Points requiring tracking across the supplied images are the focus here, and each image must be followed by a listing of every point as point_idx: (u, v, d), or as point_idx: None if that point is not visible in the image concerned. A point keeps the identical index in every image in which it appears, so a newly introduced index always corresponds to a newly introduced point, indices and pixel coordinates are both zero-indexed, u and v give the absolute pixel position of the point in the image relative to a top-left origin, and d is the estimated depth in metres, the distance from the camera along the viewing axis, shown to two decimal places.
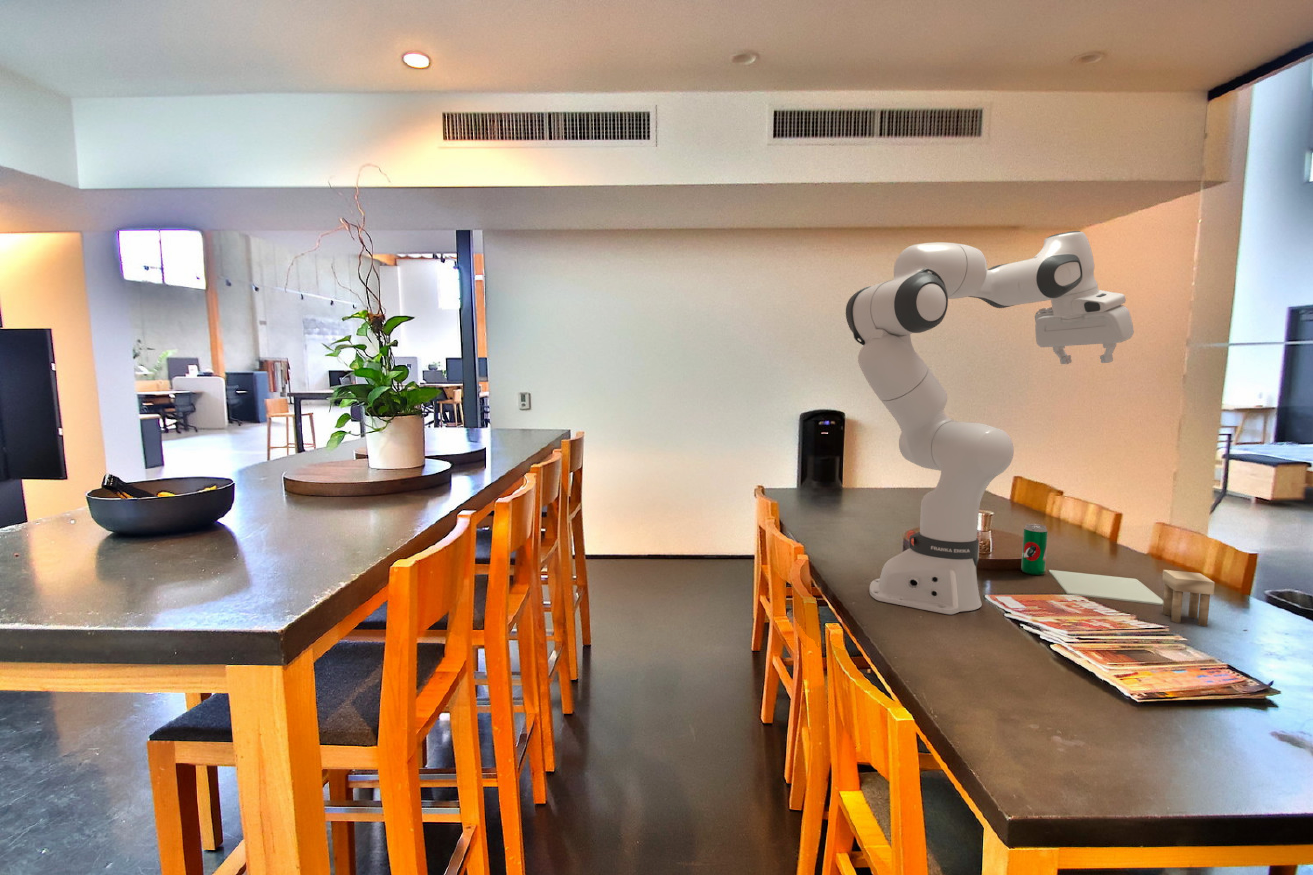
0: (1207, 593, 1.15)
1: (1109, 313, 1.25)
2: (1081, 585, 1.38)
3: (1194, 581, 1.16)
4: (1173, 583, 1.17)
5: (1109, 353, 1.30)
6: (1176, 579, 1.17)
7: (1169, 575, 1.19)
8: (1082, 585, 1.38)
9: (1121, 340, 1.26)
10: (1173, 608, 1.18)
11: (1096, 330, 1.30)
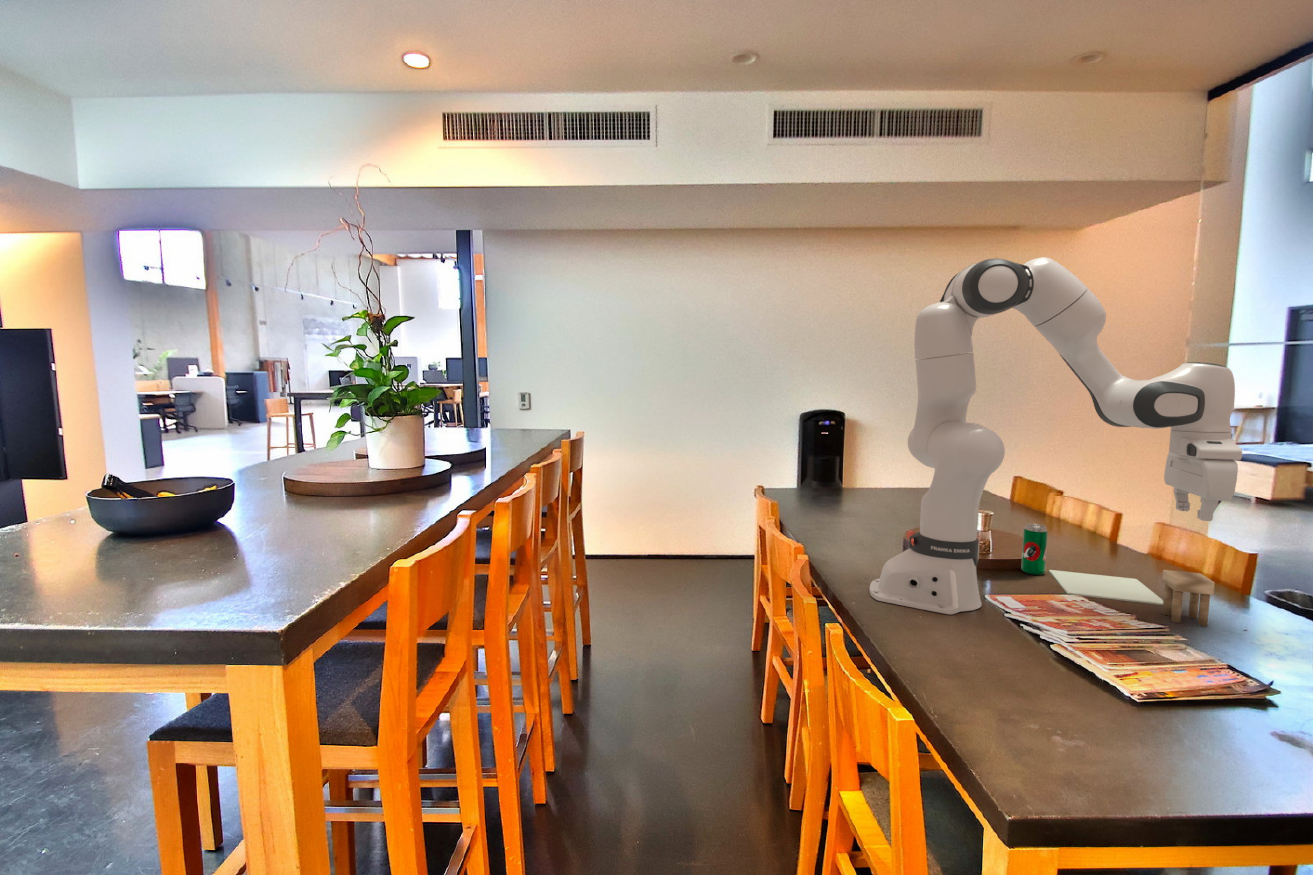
0: (1207, 593, 1.15)
1: (1203, 463, 1.09)
2: (1081, 585, 1.38)
3: (1194, 581, 1.16)
4: (1173, 583, 1.17)
5: (1206, 510, 1.12)
6: (1176, 579, 1.17)
7: (1169, 575, 1.19)
8: (1082, 585, 1.38)
9: (1208, 497, 1.09)
10: (1173, 608, 1.18)
11: (1196, 478, 1.13)
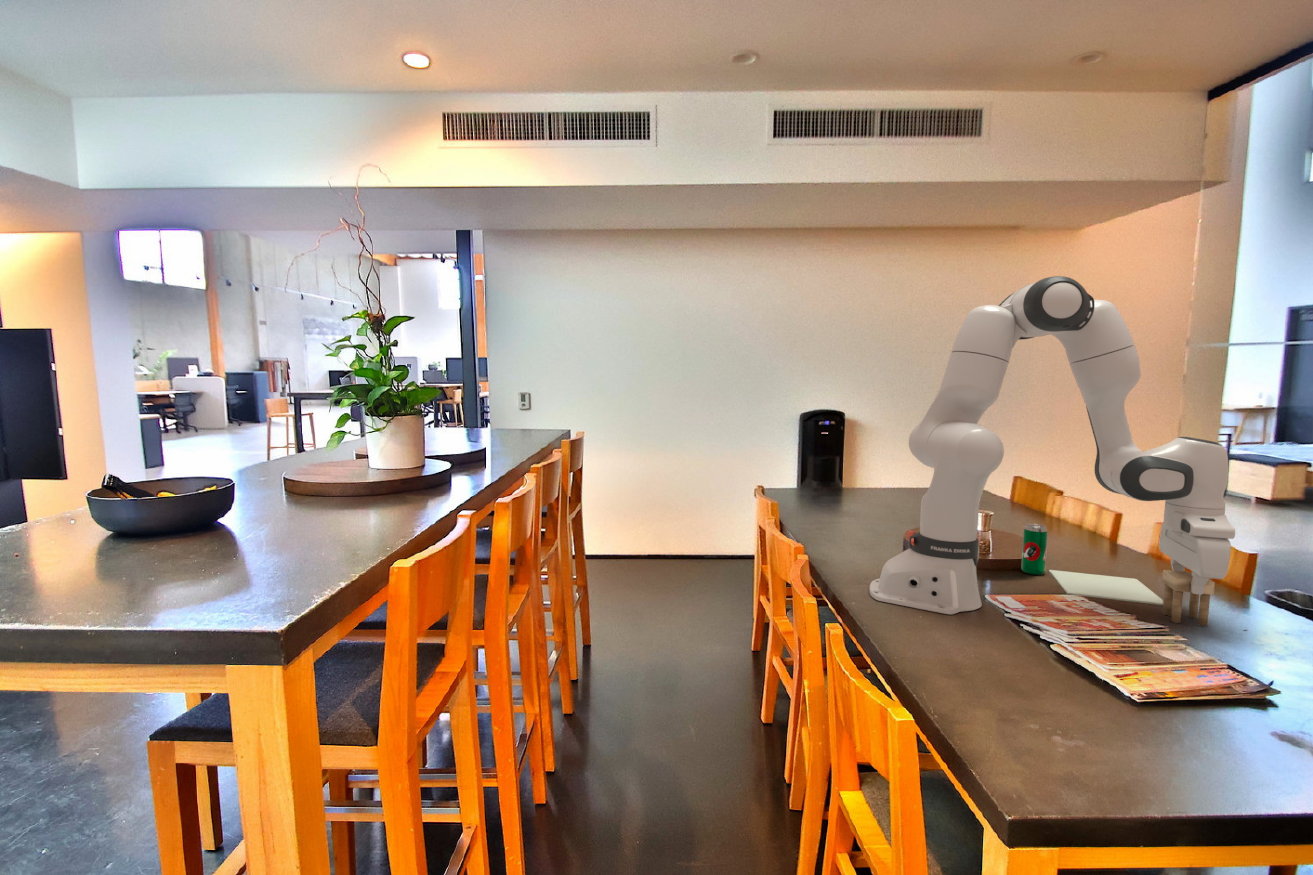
0: (1207, 593, 1.15)
1: (1196, 540, 1.11)
2: (1081, 585, 1.38)
3: None
4: (1174, 583, 1.17)
5: (1197, 584, 1.14)
6: (1176, 579, 1.17)
7: (1169, 575, 1.19)
8: (1082, 585, 1.38)
9: (1202, 575, 1.10)
10: (1173, 608, 1.18)
11: (1190, 553, 1.14)
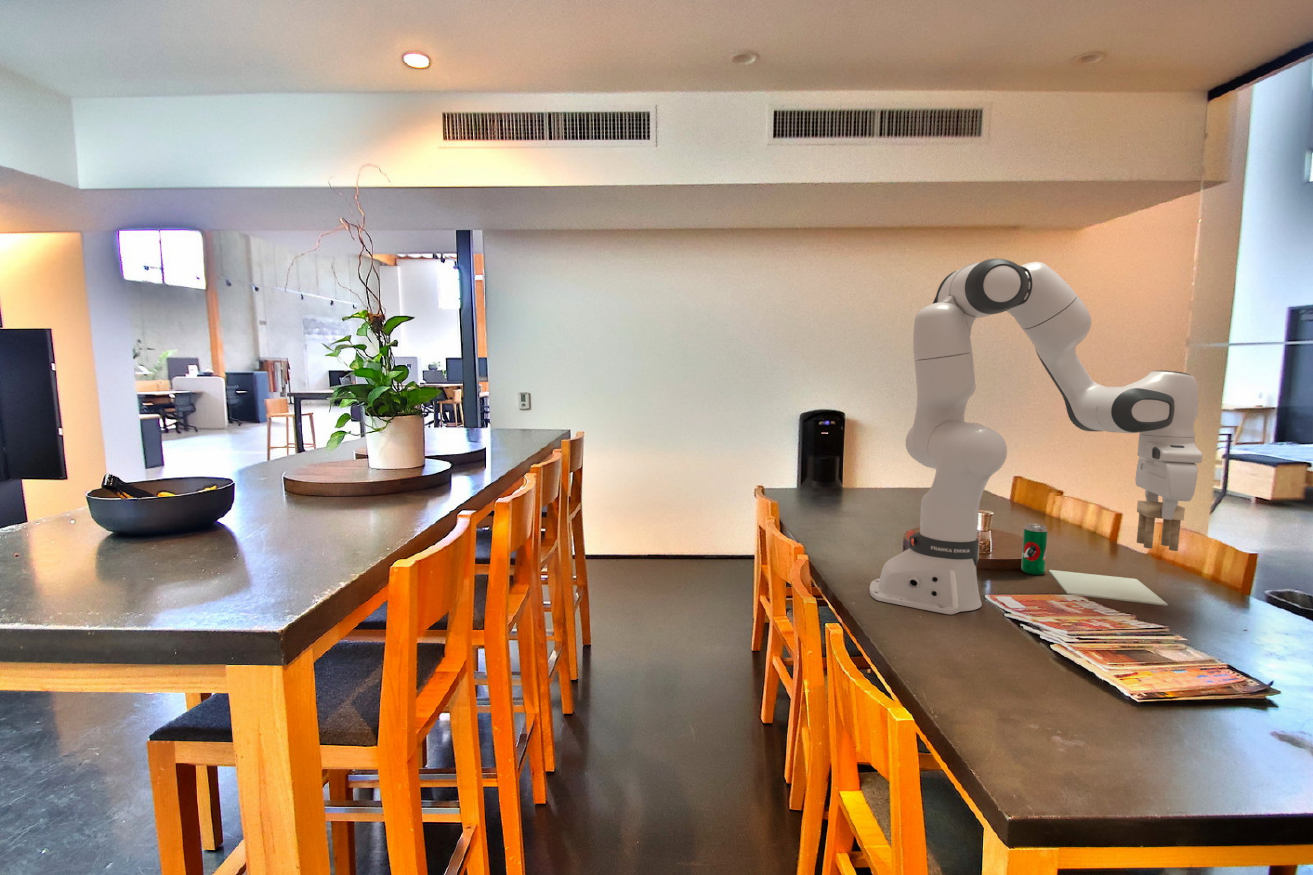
0: (1177, 519, 1.21)
1: (1165, 465, 1.16)
2: (1081, 585, 1.38)
3: None
4: (1146, 510, 1.23)
5: (1167, 509, 1.20)
6: (1148, 506, 1.22)
7: (1142, 504, 1.25)
8: (1082, 585, 1.38)
9: (1170, 497, 1.16)
10: (1145, 534, 1.23)
11: (1160, 480, 1.20)
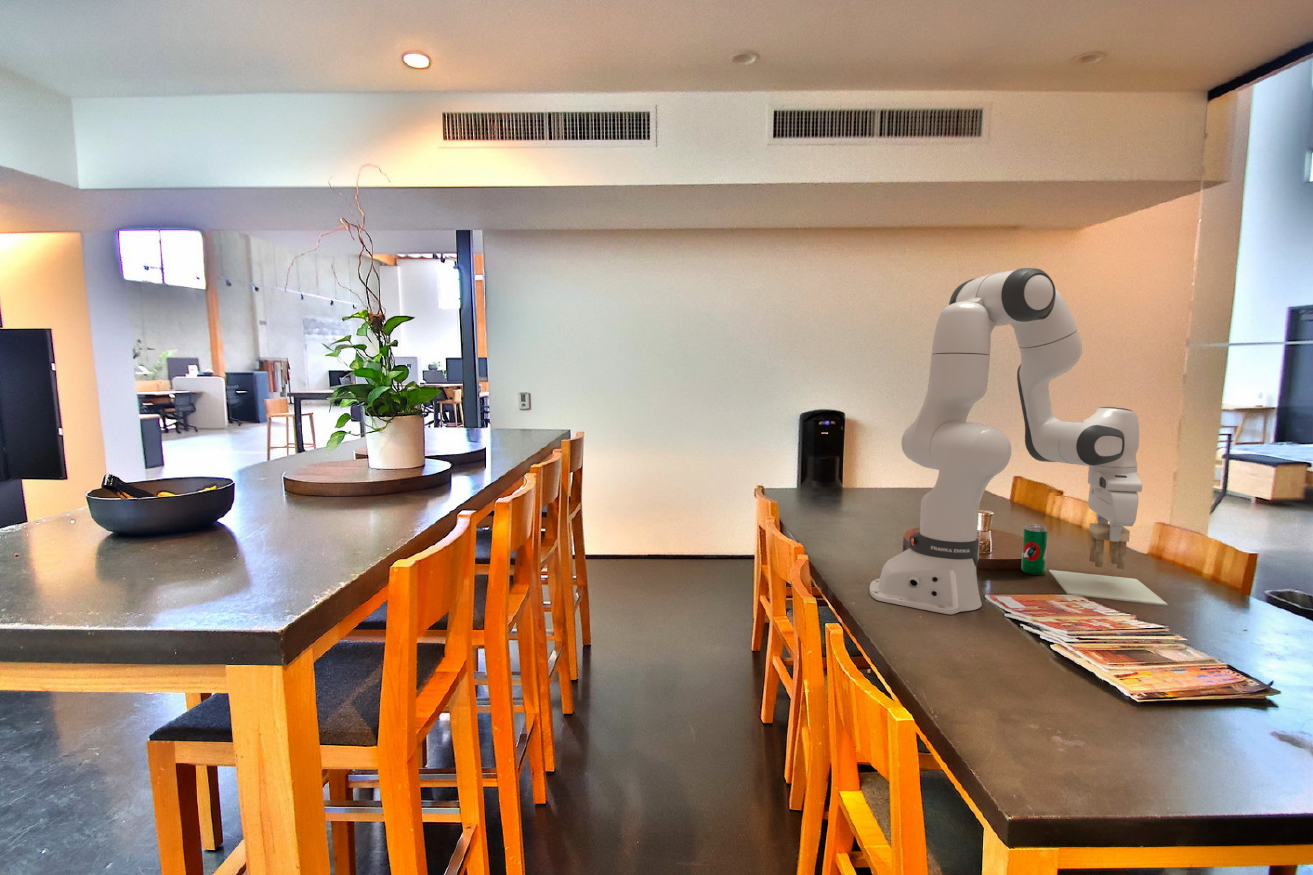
0: (1124, 540, 1.34)
1: (1110, 494, 1.29)
2: (1081, 585, 1.38)
3: None
4: (1096, 533, 1.36)
5: (1114, 532, 1.33)
6: (1098, 529, 1.35)
7: (1093, 527, 1.38)
8: (1082, 585, 1.38)
9: (1115, 523, 1.29)
10: (1096, 555, 1.36)
11: (1107, 506, 1.33)
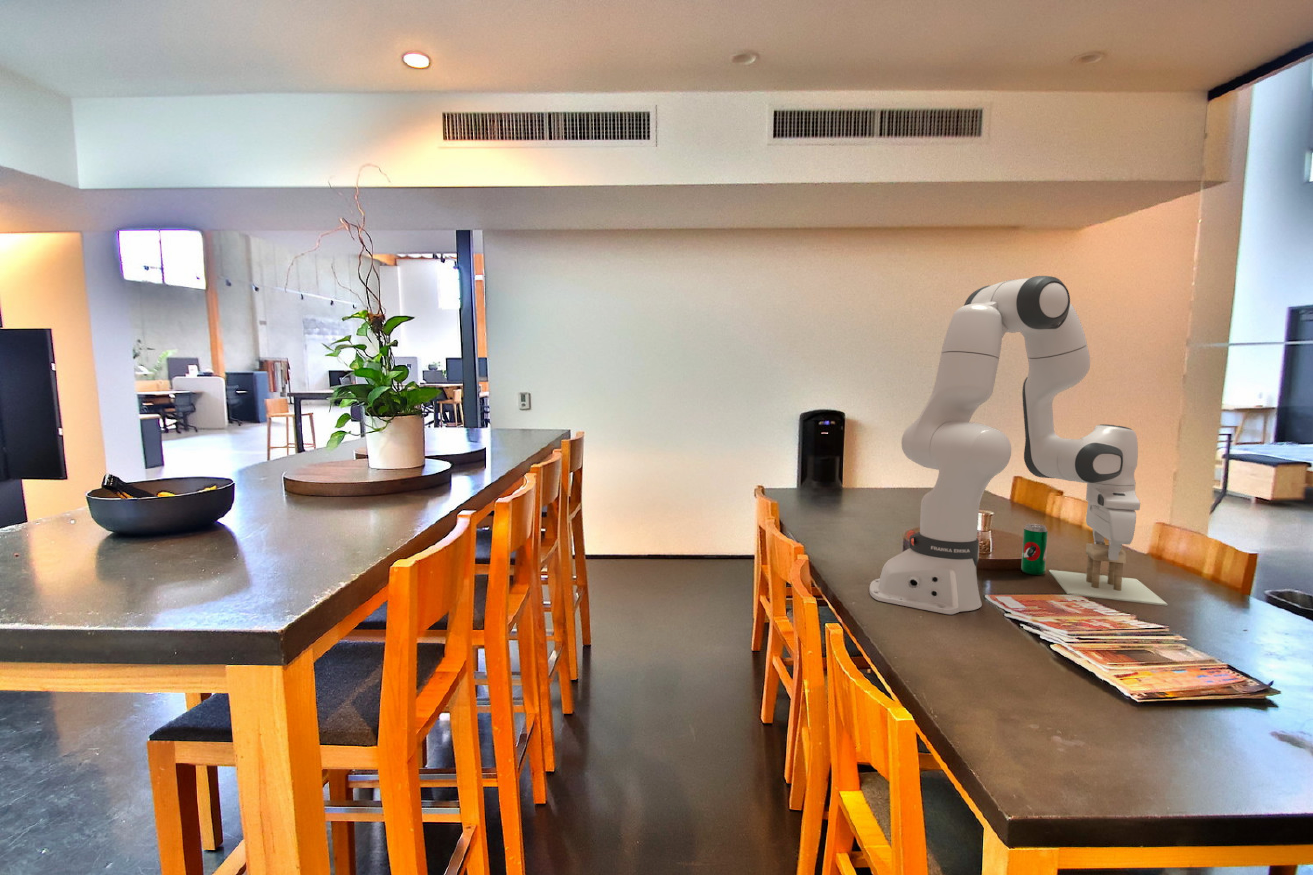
0: (1120, 562, 1.34)
1: (1108, 512, 1.30)
2: (1081, 585, 1.38)
3: None
4: (1093, 554, 1.36)
5: (1113, 551, 1.32)
6: (1095, 550, 1.36)
7: (1090, 547, 1.38)
8: (1082, 585, 1.38)
9: (1112, 541, 1.29)
10: (1093, 575, 1.37)
11: (1105, 524, 1.33)
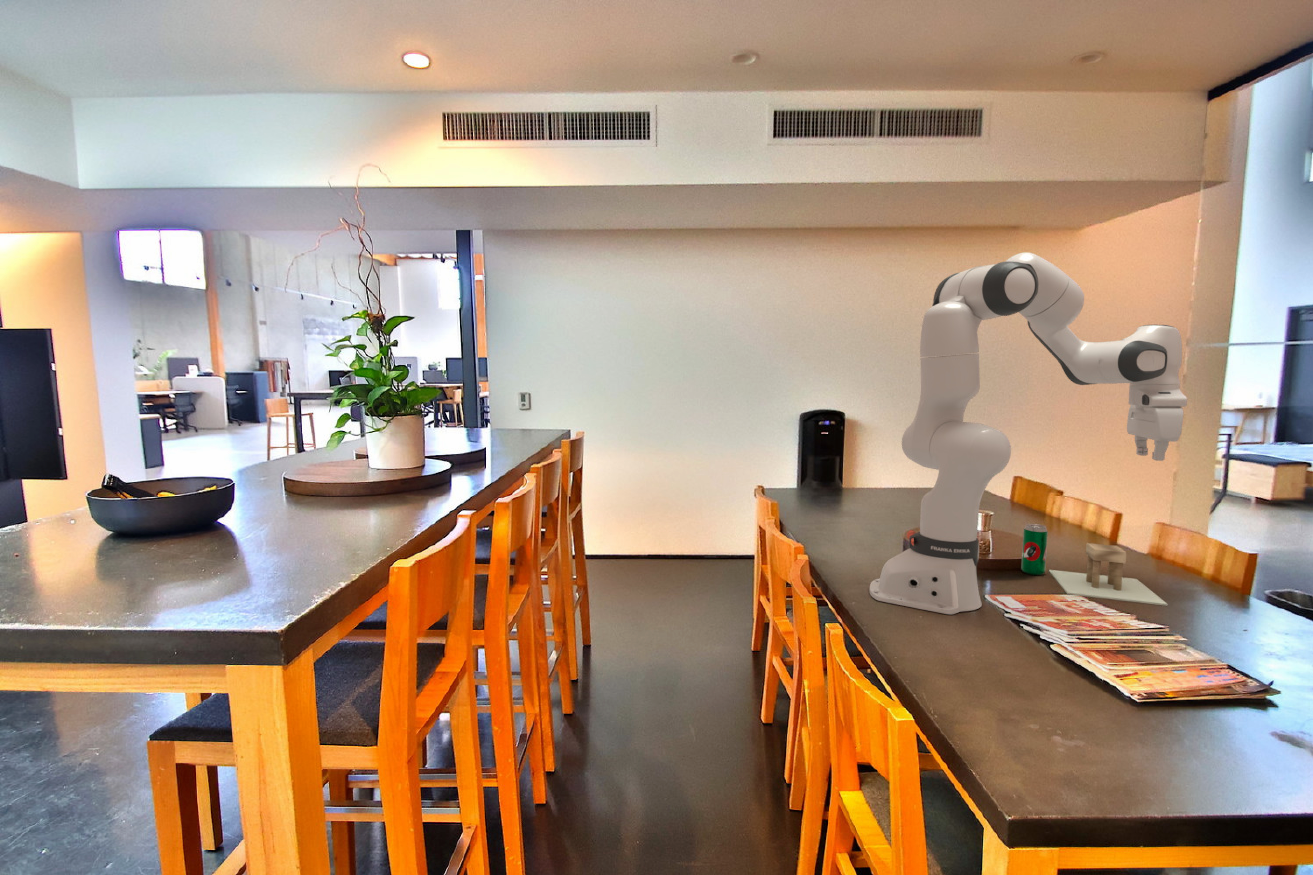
0: (1120, 562, 1.34)
1: (1154, 410, 1.28)
2: (1081, 585, 1.38)
3: (1109, 552, 1.35)
4: (1093, 554, 1.36)
5: (1159, 451, 1.31)
6: (1095, 550, 1.36)
7: (1090, 547, 1.38)
8: (1082, 585, 1.38)
9: (1159, 439, 1.27)
10: (1093, 575, 1.37)
11: (1150, 424, 1.32)
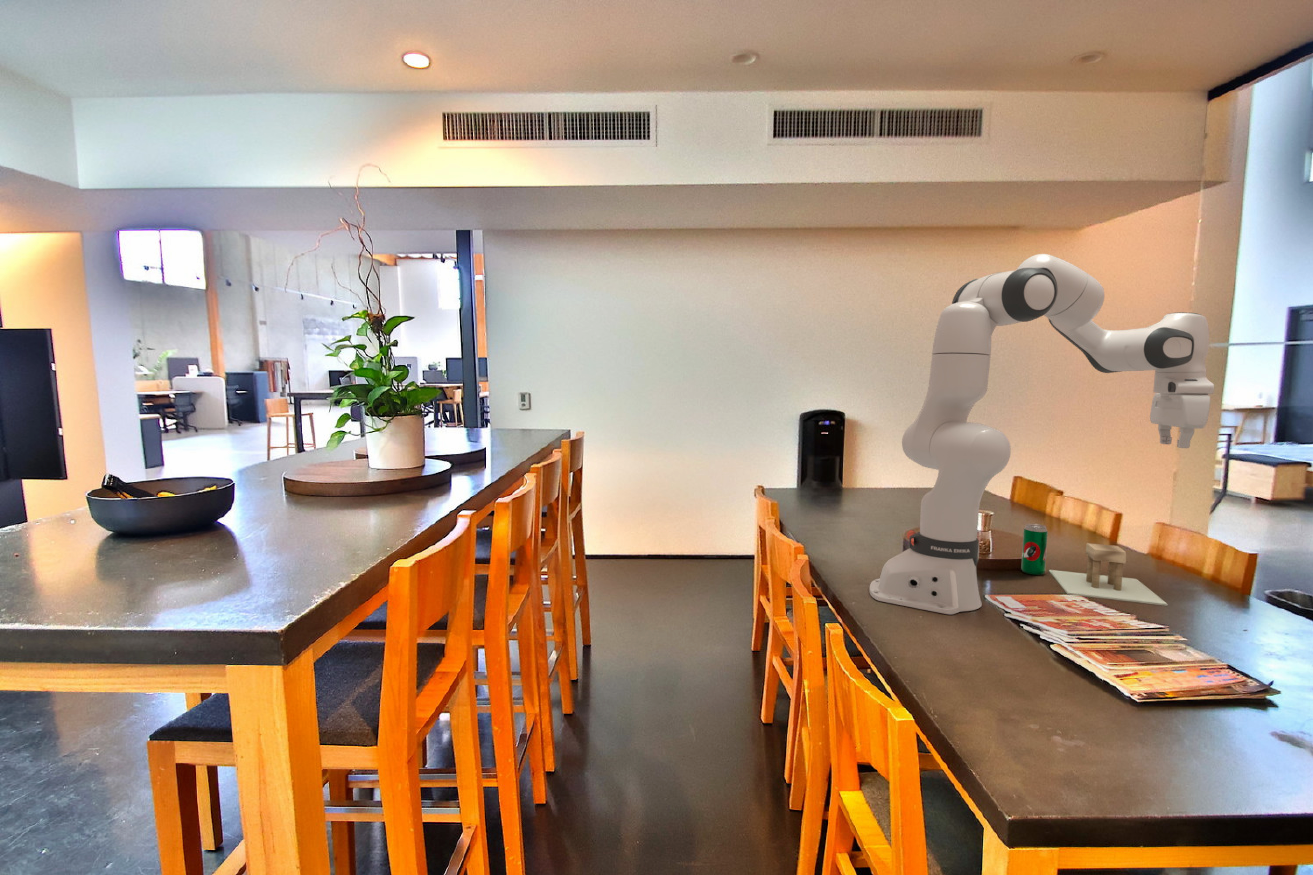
0: (1120, 562, 1.34)
1: (1181, 397, 1.28)
2: (1081, 585, 1.38)
3: (1109, 552, 1.35)
4: (1093, 554, 1.36)
5: (1184, 439, 1.31)
6: (1095, 550, 1.36)
7: (1090, 547, 1.38)
8: (1082, 585, 1.38)
9: (1185, 425, 1.27)
10: (1093, 575, 1.37)
11: (1176, 412, 1.32)
